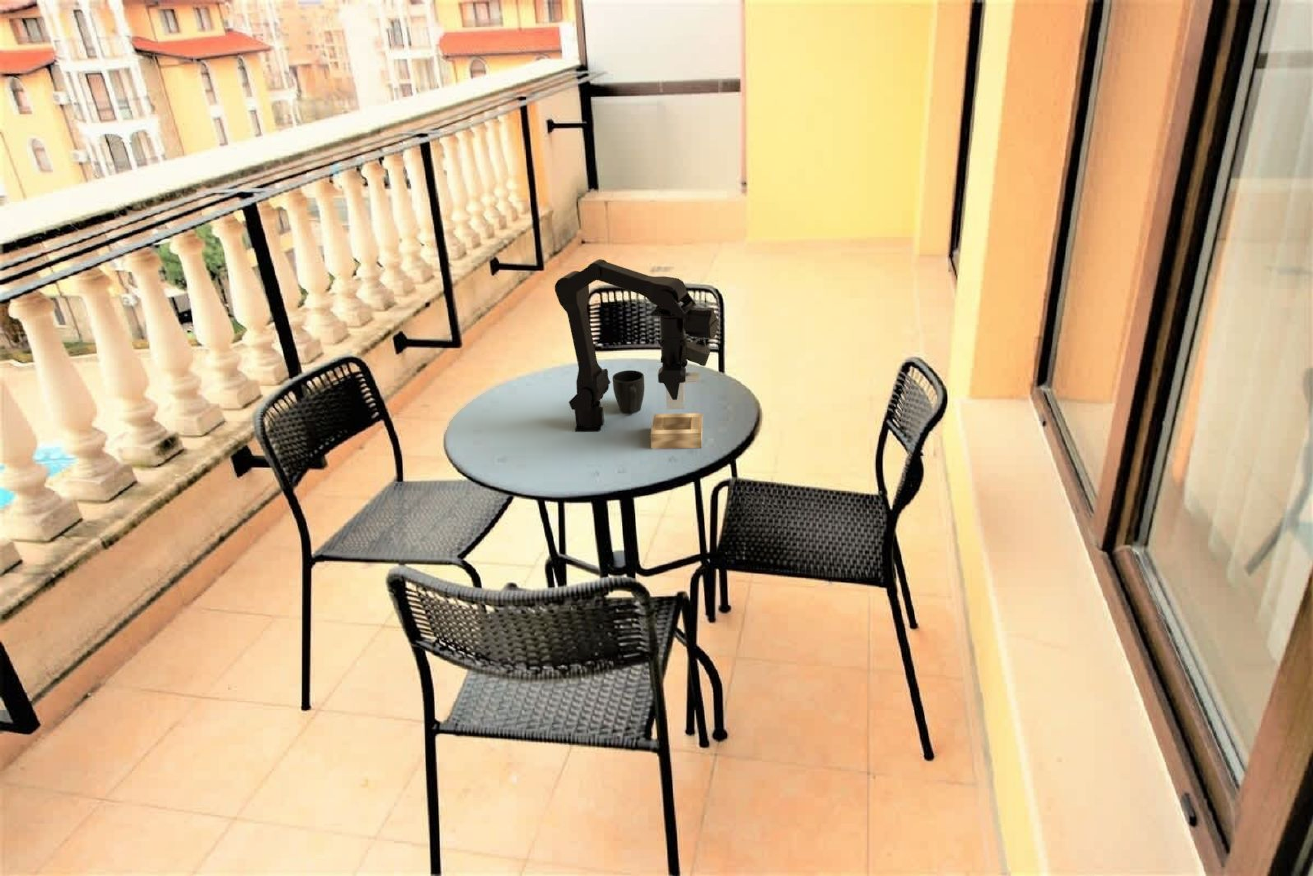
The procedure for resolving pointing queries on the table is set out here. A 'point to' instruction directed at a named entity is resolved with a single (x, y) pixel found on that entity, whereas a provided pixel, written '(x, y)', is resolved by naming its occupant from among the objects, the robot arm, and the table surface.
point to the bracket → (682, 391)
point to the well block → (676, 431)
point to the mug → (629, 390)
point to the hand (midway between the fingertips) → (675, 395)
